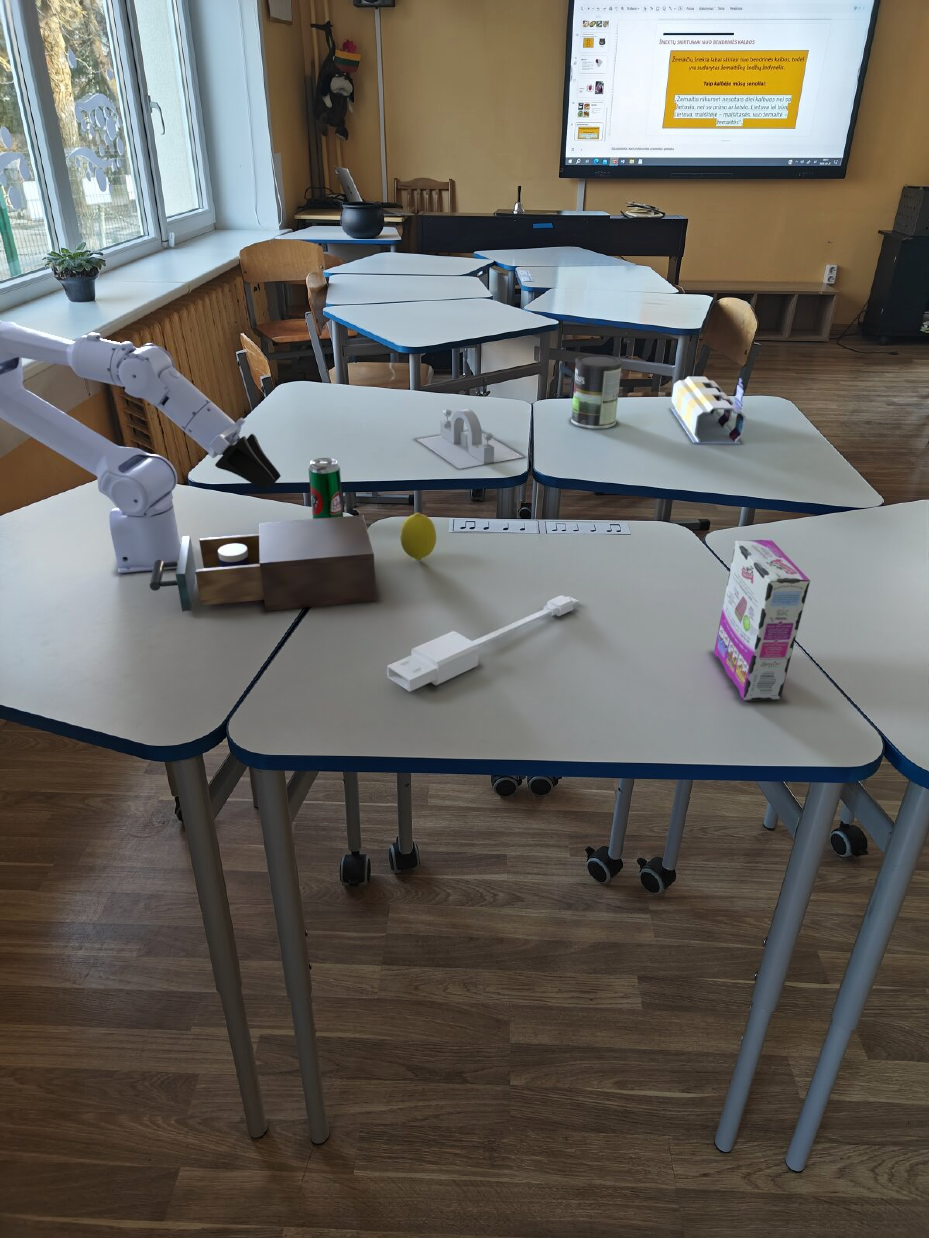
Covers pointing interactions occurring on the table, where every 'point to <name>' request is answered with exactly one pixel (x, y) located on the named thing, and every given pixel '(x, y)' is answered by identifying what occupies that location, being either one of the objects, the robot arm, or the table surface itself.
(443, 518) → the table surface
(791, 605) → the candy bar box
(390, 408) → the table surface
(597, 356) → the coffee can
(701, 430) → the diorama
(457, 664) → the charging cable
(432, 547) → the lemon
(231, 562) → the blue jar
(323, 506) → the soda can
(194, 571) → the drawer
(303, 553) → the cabinet
